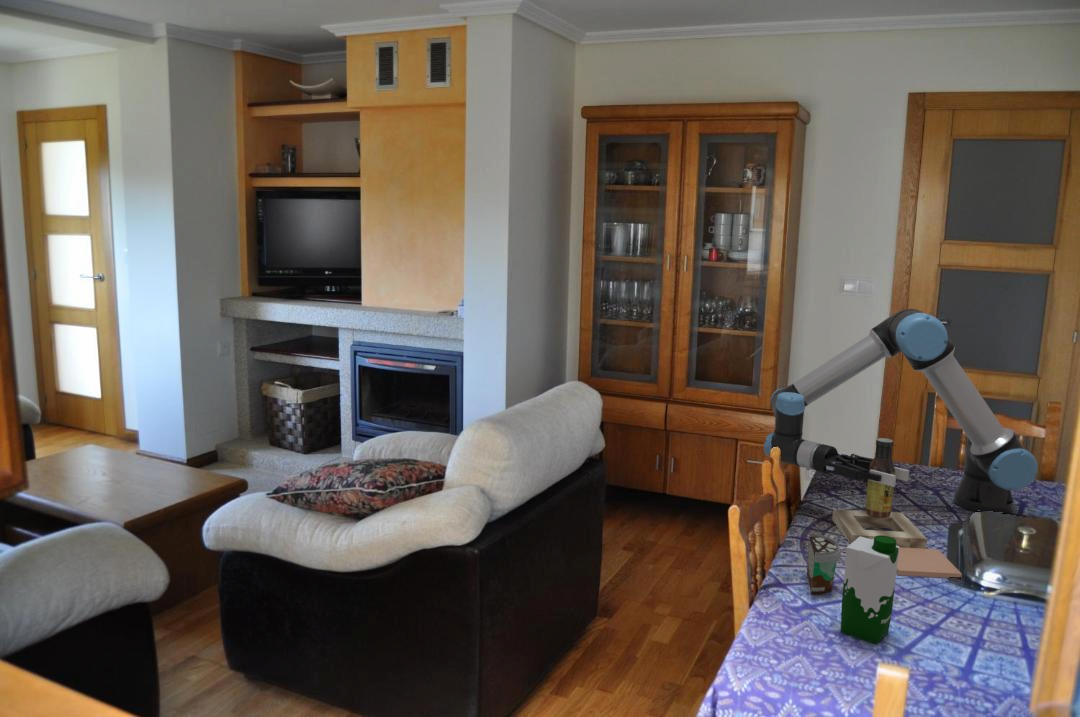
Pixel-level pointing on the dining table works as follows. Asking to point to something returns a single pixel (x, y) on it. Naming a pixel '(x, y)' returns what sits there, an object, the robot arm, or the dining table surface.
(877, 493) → the sauce bottle
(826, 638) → the dining table surface
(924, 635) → the dining table surface
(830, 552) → the food container
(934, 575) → the terracotta tile
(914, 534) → the bottle stand
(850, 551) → the milk carton
